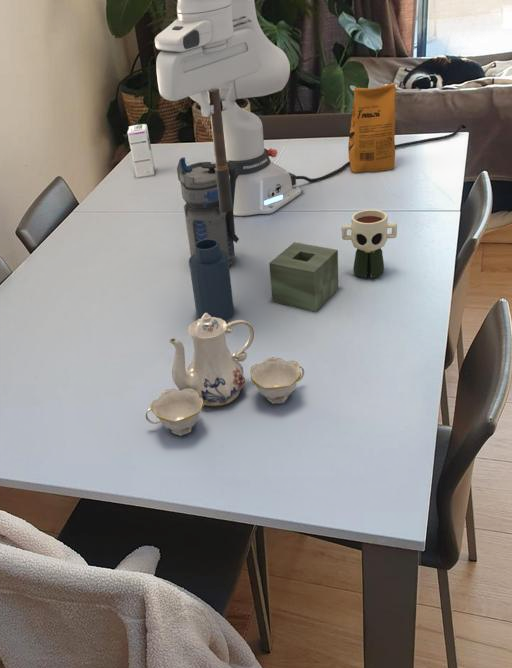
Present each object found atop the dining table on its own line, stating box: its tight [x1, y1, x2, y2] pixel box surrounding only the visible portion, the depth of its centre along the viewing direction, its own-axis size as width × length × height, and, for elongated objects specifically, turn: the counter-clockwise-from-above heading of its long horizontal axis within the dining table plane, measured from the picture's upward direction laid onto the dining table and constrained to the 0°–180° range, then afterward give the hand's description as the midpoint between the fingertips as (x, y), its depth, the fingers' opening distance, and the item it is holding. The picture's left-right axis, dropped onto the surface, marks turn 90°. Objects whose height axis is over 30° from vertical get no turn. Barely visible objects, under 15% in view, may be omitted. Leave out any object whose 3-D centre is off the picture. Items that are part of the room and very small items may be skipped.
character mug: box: [341, 208, 398, 279], centre depth 148 cm, size 11×7×13 cm, turn 78°
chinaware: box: [145, 313, 305, 437], centre depth 118 cm, size 28×17×17 cm, turn 114°
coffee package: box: [347, 83, 397, 174], centre depth 194 cm, size 10×12×22 cm
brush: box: [208, 88, 233, 212], centre depth 128 cm, size 2×2×22 cm
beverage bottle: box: [176, 156, 240, 267], centre depth 158 cm, size 10×13×25 cm
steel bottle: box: [188, 239, 235, 323], centre depth 143 cm, size 8×8×16 cm
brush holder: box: [268, 241, 339, 313], centre depth 146 cm, size 10×10×9 cm
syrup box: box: [126, 123, 156, 178], centre depth 218 cm, size 6×6×14 cm
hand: (215, 112), depth 125 cm, fingers closed on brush, 2 cm apart
